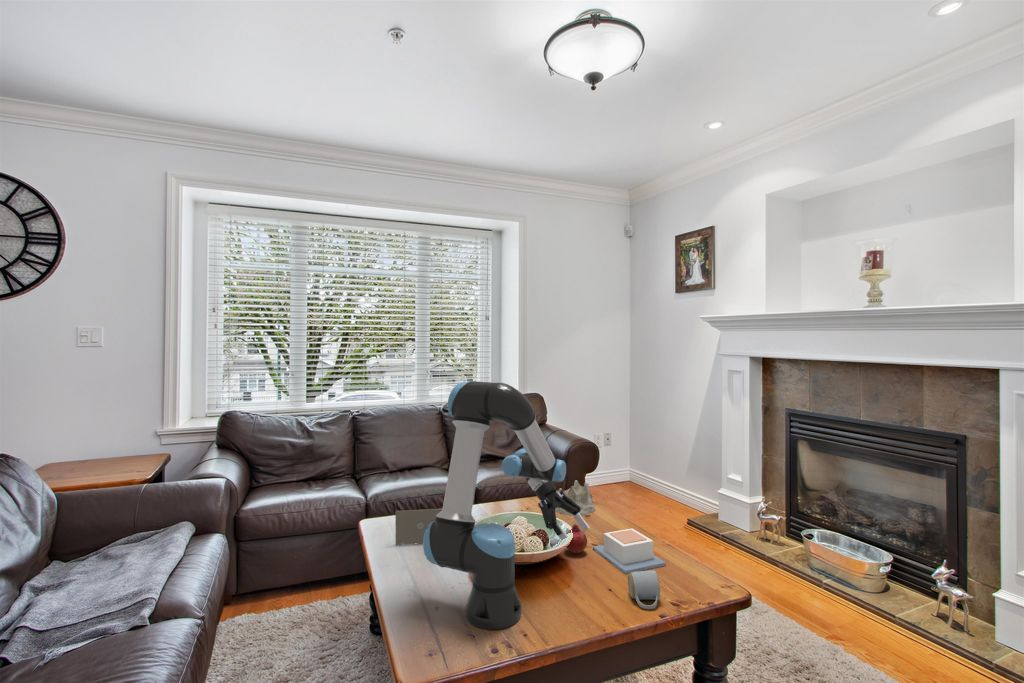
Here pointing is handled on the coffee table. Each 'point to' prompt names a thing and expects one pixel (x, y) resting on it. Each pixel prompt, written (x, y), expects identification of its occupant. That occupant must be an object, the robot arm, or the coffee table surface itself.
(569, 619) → the coffee table surface
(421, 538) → the laptop
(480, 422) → the robot arm
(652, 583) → the ceramic mug
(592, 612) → the coffee table surface
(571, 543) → the fruit
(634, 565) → the pedestal board
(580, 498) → the miniature stone castle
